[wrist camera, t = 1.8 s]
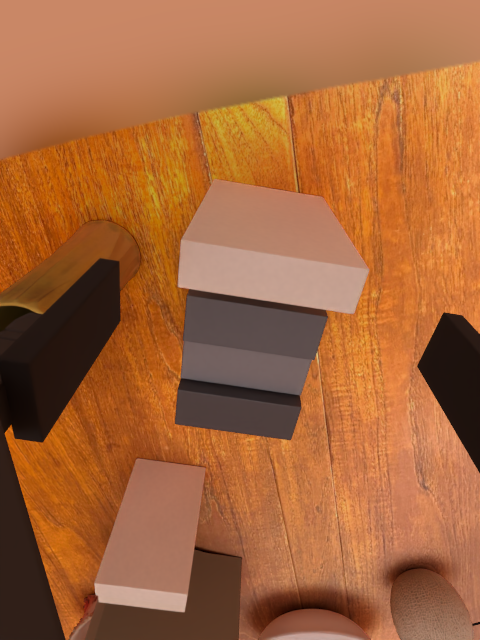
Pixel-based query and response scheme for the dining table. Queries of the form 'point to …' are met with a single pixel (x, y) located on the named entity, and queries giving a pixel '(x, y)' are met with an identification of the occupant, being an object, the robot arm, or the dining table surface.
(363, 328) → the dining table surface
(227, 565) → the book
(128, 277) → the vase
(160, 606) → the white books
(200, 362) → the grey books
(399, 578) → the fruit
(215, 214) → the white book
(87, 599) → the seashell
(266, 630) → the soup bowl
